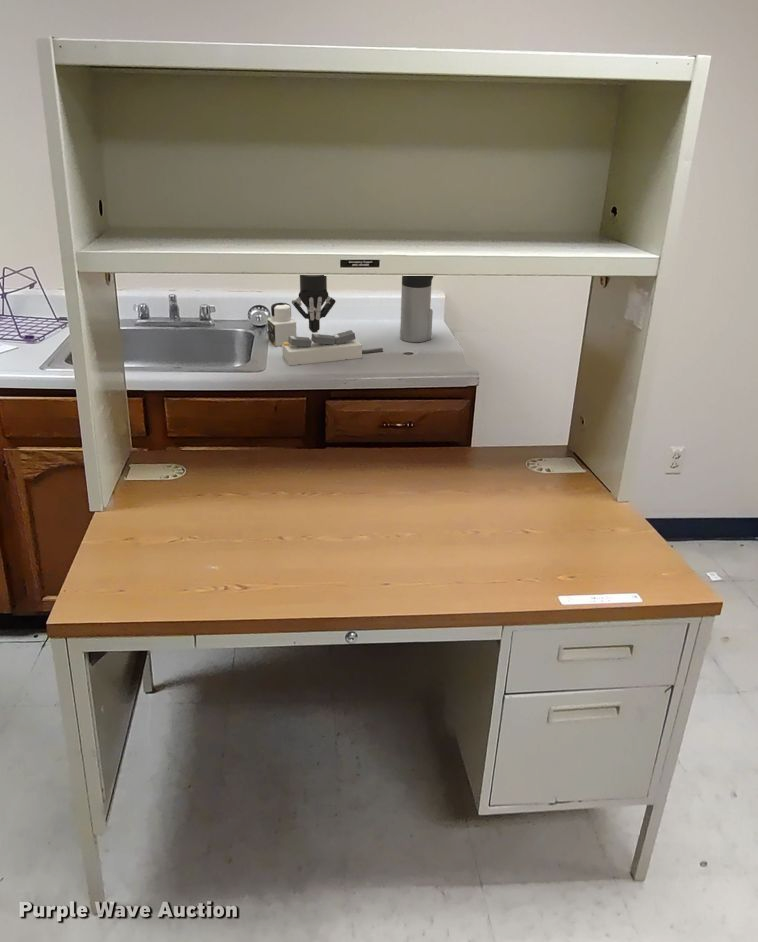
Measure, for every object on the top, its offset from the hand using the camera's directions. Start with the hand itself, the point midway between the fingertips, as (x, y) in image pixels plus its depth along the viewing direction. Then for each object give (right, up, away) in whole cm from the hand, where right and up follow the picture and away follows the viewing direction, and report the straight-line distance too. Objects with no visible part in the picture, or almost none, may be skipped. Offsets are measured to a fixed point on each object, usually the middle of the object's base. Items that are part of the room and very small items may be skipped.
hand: (314, 331), depth 219 cm
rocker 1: (-4, -4, 0) cm, 6 cm away
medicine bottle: (-11, 0, +17) cm, 20 cm away
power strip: (+6, -6, +6) cm, 10 cm away
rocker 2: (+9, -2, +5) cm, 10 cm away
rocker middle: (+2, -3, +3) cm, 5 cm away
